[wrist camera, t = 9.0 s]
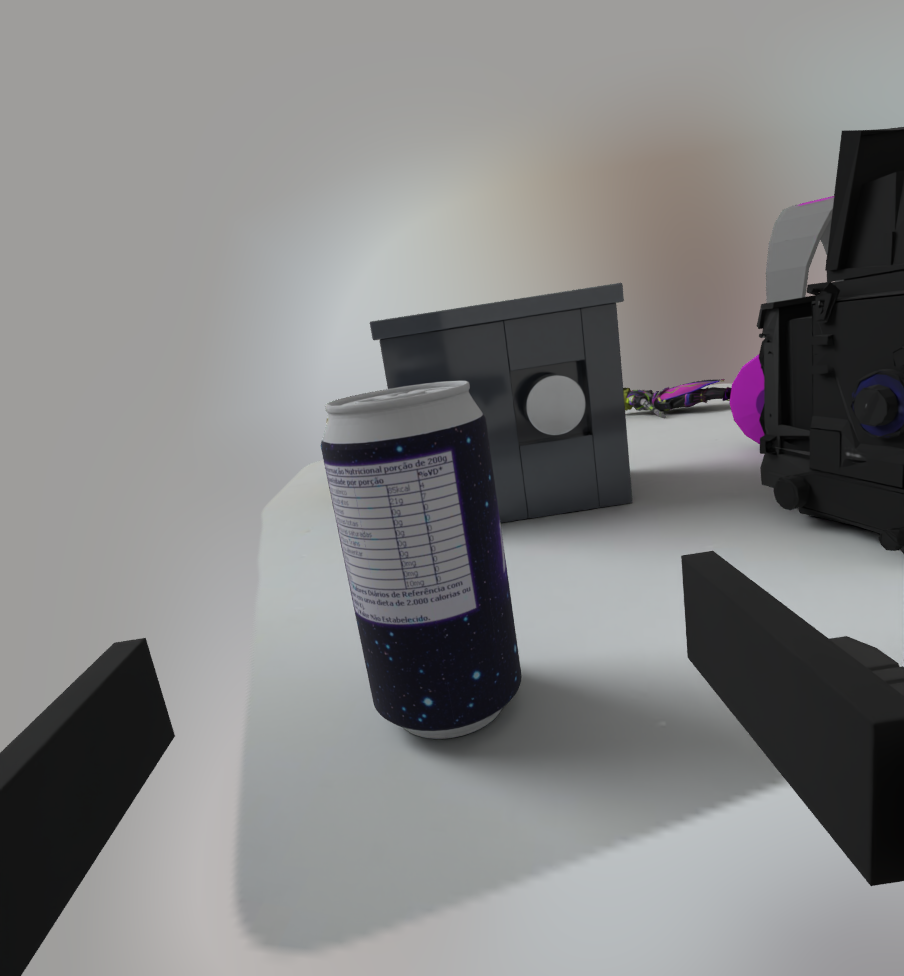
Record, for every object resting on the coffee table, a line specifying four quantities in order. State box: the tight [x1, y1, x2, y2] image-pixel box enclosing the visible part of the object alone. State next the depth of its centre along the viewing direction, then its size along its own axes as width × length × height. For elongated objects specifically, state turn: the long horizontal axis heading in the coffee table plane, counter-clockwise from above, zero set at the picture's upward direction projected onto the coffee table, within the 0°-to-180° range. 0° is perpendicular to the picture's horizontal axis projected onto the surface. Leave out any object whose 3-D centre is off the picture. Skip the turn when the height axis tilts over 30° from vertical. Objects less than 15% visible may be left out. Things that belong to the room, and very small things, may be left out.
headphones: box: [730, 196, 844, 444], centre depth 55 cm, size 21×9×20 cm, turn 132°
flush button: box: [523, 374, 586, 435], centre depth 42 cm, size 4×1×4 cm, turn 92°
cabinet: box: [370, 283, 632, 523], centre depth 47 cm, size 17×11×15 cm, turn 92°
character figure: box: [623, 379, 732, 418], centre depth 77 cm, size 9×4×16 cm
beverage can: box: [321, 381, 521, 739], centre depth 22 cm, size 6×6×12 cm
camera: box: [757, 127, 904, 553], centre depth 33 cm, size 10×14×20 cm
